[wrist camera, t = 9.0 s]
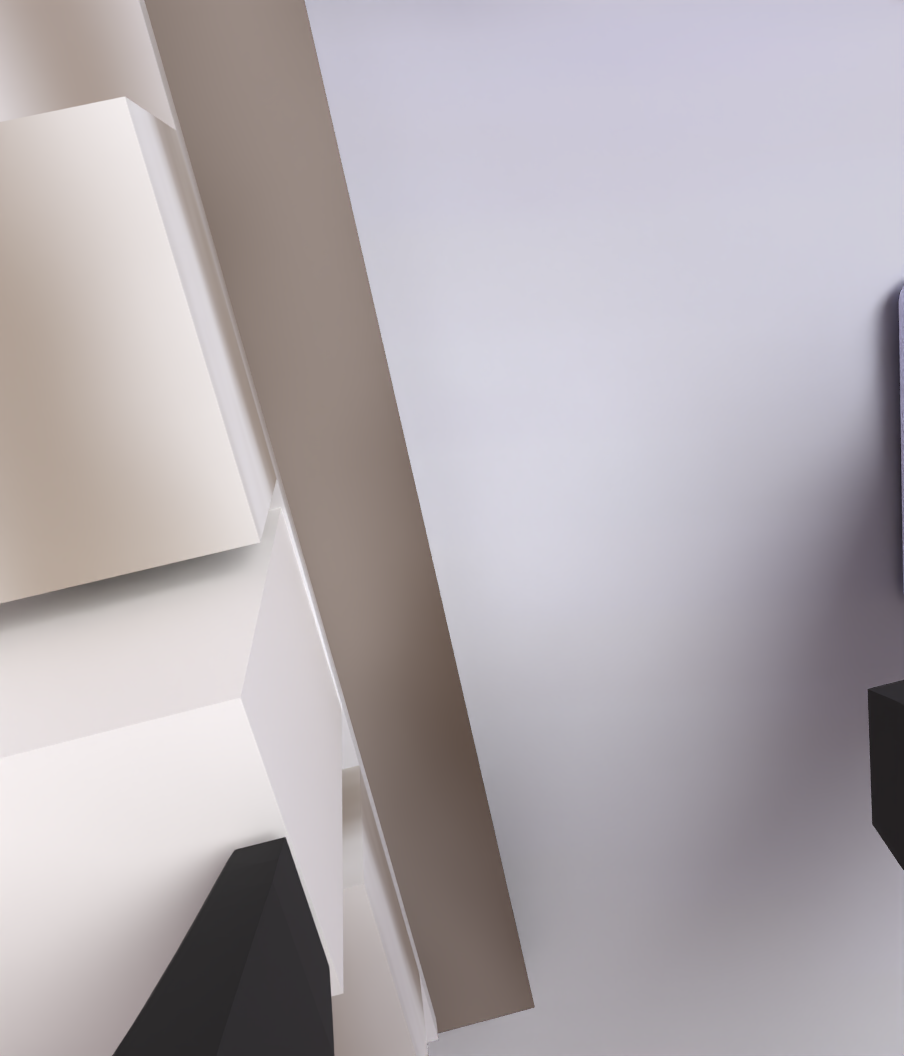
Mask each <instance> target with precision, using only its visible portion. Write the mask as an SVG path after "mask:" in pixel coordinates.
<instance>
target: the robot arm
mask: <svg viewBox="0 0 904 1056" xmlns="http://www.w3.org/2000/svg"><path fill="white" fill-rule="evenodd" d="M899 349H900V410H901V472H902V533H903V593H904V286H903V288H902V290H901V292H900V297H899ZM868 710H869V740H870V769H871V798H872V824H873V826H874V827H875V829H876V830H877V832H878V833H879V835H880V836H881V838H882V839H883V841H884V842H885V844H886V845H887V847H888V848H889V850H890V851H891V852H892V854H893V855H894V857H895V858H896V860H897V861H898V863H899V864H900V866H901V867H902V869H903V870H904V680H902V681H898V682H894V683H890V684H886V685H882V686H878V687H874V688H870V689H868ZM112 1056H335V1055H334V1035H333V1014H332V999H331V983H330V967H329V964H328V961H327V958H326V955H325V952H324V949H323V946H322V943H321V940H320V937H319V934H318V931H317V928H316V925H315V922H314V919H313V916H312V913H311V910H310V907H309V904H308V902H307V899H306V896H305V893H304V890H303V887H302V884H301V881H300V878H299V875H298V872H297V869H296V866H295V863H294V860H293V857H292V854H291V851H290V848H289V845H288V842H287V839H286V837H283V838H279V839H275V840H271V841H267V842H263V843H259V844H255V845H251V846H247V847H244V848H240V849H236V850H234V852H233V853H232V855H231V856H230V858H229V859H228V861H227V862H226V864H225V866H224V868H223V869H222V871H221V873H220V875H219V877H218V878H217V880H216V882H215V884H214V886H213V887H212V889H211V891H210V893H209V895H208V896H207V898H206V900H205V902H204V904H203V905H202V907H201V909H200V911H199V912H198V914H197V916H196V918H195V920H194V921H193V923H192V925H191V927H190V928H189V930H188V932H187V934H186V935H185V937H184V939H183V941H182V942H181V944H180V946H179V948H178V950H177V951H176V953H175V955H174V956H173V958H172V960H171V961H170V963H169V965H168V966H167V968H166V970H165V971H164V973H163V975H162V976H161V978H160V980H159V981H158V983H157V985H156V986H155V988H154V990H153V991H152V993H151V995H150V996H149V998H148V1000H147V1001H146V1003H145V1005H144V1007H143V1008H142V1010H141V1011H140V1013H139V1015H138V1016H137V1018H136V1020H135V1021H134V1023H133V1024H132V1026H131V1028H130V1029H129V1031H128V1032H127V1034H126V1035H125V1037H124V1038H123V1040H122V1041H121V1043H120V1044H119V1046H118V1047H117V1049H116V1050H115V1052H114V1053H113V1055H112Z"/></svg>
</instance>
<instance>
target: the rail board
mask: <svg viewBox="0 0 904 1056" xmlns="http://www.w3.org/2000/svg"><path fill="white" fill-rule="evenodd" d="M280 507H281V508H282V512H283V515H284V518H285V522H286V525H287V528H288V532H289V535H290V538H291V542H292V545H293V548H294V552H295V555H296V558H297V562H298V565H299V568H300V572H301V575H302V578H303V582H304V585H305V588H306V592H307V595H308V598H309V602H310V605H311V608H312V612H313V615H314V618H315V621H316V625H317V628H318V631H319V635H320V638H321V641H322V645H323V648H324V651H325V655H326V658H327V661H328V665H329V668H330V671H331V675H332V678H333V681H334V685H335V688H336V691H337V695H338V698H339V701H340V705H341V708H342V846H343V994H339V995H335V996H332V997H331V999H332V1014H333V1035H334V1055H335V1056H428V1048H427V1043H429V1042H433V1041H437V1040H439V1039H438V1033H441V1032H445V1031H449V1030H452V1029H456V1028H460V1027H464V1026H467V1025H471V1024H475V1023H478V1022H482V1021H486V1020H490V1019H493V1018H497V1017H501V1016H505V1015H508V1014H512V1013H516V1012H519V1011H523V1010H527V1009H531V1008H534V1002H533V998H532V993H531V989H530V985H529V980H528V976H527V972H526V967H525V963H524V958H523V954H522V950H521V945H520V941H519V937H518V932H517V928H516V923H515V919H514V915H513V910H512V906H511V902H510V897H509V893H508V889H507V884H506V880H505V875H504V871H503V867H502V862H501V858H500V854H499V849H498V845H497V840H496V836H495V832H494V827H493V823H492V819H491V814H490V810H489V805H488V801H487V797H486V792H485V788H484V784H483V779H482V775H481V770H480V766H479V762H478V757H477V753H476V749H475V744H474V740H473V736H472V731H471V727H470V722H469V718H468V714H467V709H466V705H465V701H464V696H463V692H462V687H461V683H460V679H459V674H458V670H457V666H456V661H455V657H454V652H453V648H452V644H451V639H450V635H449V631H448V626H447V622H446V617H445V613H444V609H443V604H442V600H441V596H440V591H439V587H438V583H437V578H436V574H435V569H434V565H433V561H432V556H431V552H430V548H429V543H428V539H427V534H426V530H425V526H424V521H423V517H422V513H421V508H420V504H419V499H418V495H417V491H416V486H415V482H414V478H413V473H412V469H411V465H410V460H409V456H408V451H407V447H406V443H405V438H404V434H403V430H402V425H401V421H400V416H399V412H398V408H397V403H396V399H395V395H394V390H393V386H392V381H391V377H390V373H389V368H388V364H387V360H386V355H385V351H384V346H383V342H382V338H381V333H380V329H379V325H378V320H377V316H376V312H375V307H374V303H373V298H372V294H371V290H370V285H369V281H368V277H367V272H366V268H365V263H364V259H363V255H362V250H361V246H360V242H359V237H358V233H357V228H356V224H355V220H354V215H353V211H352V207H351V202H350V198H349V193H348V189H347V185H346V180H345V176H344V172H343V167H342V163H341V159H340V154H339V150H338V145H337V141H336V137H335V132H334V128H333V124H332V119H331V115H330V110H329V106H328V102H327V97H326V93H325V89H324V84H323V80H322V75H321V71H320V67H319V62H318V58H317V54H316V49H315V45H314V40H313V36H312V32H311V27H310V23H309V19H308V14H307V10H306V6H305V1H304V0H0V603H5V602H9V601H13V600H17V599H22V598H26V597H30V596H34V595H39V594H43V593H47V592H51V591H56V590H60V589H64V588H69V587H73V586H77V585H81V584H86V583H90V582H94V581H98V580H103V579H107V578H111V577H115V576H120V575H124V574H128V573H132V572H137V571H141V570H145V569H149V568H154V567H158V566H162V565H166V564H171V563H175V562H179V561H184V560H188V559H192V558H196V557H201V556H205V555H209V554H213V553H218V552H222V551H226V550H230V549H235V548H239V547H243V546H247V545H252V544H256V543H260V542H261V538H262V534H263V530H264V526H265V523H266V519H267V515H268V511H269V510H272V509H276V508H280Z"/></svg>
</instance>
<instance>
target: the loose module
mask: <svg viewBox="0 0 904 1056" xmlns="http://www.w3.org/2000/svg"><path fill="white" fill-rule="evenodd" d="M283 837H286V839H287V842H288V845H289V848H290V851H291V854H292V857H293V860H294V863H295V866H296V869H297V872H298V875H299V878H300V881H301V884H302V887H303V890H304V893H305V896H306V899H307V902H308V904H309V907H310V910H311V913H312V916H313V919H314V922H315V925H316V928H317V931H318V934H319V937H320V940H321V943H322V946H323V949H324V952H325V955H326V958H327V961H328V964H329V967H330V983H331V997H332V996H335V995H339V994H343V846H342V708H341V705H340V701H339V698H338V695H337V691H336V688H335V685H334V681H333V678H332V675H331V671H330V668H329V665H328V661H327V658H326V655H325V651H324V648H323V645H322V641H321V638H320V635H319V631H318V628H317V625H316V621H315V618H314V615H313V612H312V608H311V605H310V602H309V598H308V595H307V592H306V588H305V585H304V582H303V578H302V575H301V572H300V568H299V565H298V562H297V558H296V555H295V552H294V548H293V545H292V542H291V538H290V535H289V532H288V528H287V525H286V522H285V518H284V515H283V512H282V508H281V507H280V508H276V509H272V510H269V511H268V515H267V519H266V523H265V526H264V530H263V534H262V538H261V542H260V543H256V544H252V545H247V546H243V547H239V548H235V549H230V550H226V551H222V552H218V553H213V554H209V555H205V556H201V557H196V558H192V559H188V560H184V561H179V562H175V563H171V564H166V565H162V566H158V567H154V568H149V569H145V570H141V571H137V572H132V573H128V574H124V575H120V576H115V577H111V578H107V579H103V580H98V581H94V582H90V583H86V584H81V585H77V586H73V587H69V588H64V589H60V590H56V591H51V592H47V593H43V594H39V595H34V596H30V597H26V598H22V599H17V600H13V601H9V602H5V603H0V1056H112V1055H113V1053H114V1052H115V1050H116V1049H117V1047H118V1046H119V1044H120V1043H121V1041H122V1040H123V1038H124V1037H125V1035H126V1034H127V1032H128V1031H129V1029H130V1028H131V1026H132V1024H133V1023H134V1021H135V1020H136V1018H137V1016H138V1015H139V1013H140V1011H141V1010H142V1008H143V1007H144V1005H145V1003H146V1001H147V1000H148V998H149V996H150V995H151V993H152V991H153V990H154V988H155V986H156V985H157V983H158V981H159V980H160V978H161V976H162V975H163V973H164V971H165V970H166V968H167V966H168V965H169V963H170V961H171V960H172V958H173V956H174V955H175V953H176V951H177V950H178V948H179V946H180V944H181V942H182V941H183V939H184V937H185V935H186V934H187V932H188V930H189V928H190V927H191V925H192V923H193V921H194V920H195V918H196V916H197V914H198V912H199V911H200V909H201V907H202V905H203V904H204V902H205V900H206V898H207V896H208V895H209V893H210V891H211V889H212V887H213V886H214V884H215V882H216V880H217V878H218V877H219V875H220V873H221V871H222V869H223V868H224V866H225V864H226V862H227V861H228V859H229V858H230V856H231V855H232V853H233V852H234V850H236V849H240V848H244V847H247V846H251V845H255V844H259V843H263V842H267V841H271V840H275V839H279V838H283Z"/></svg>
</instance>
